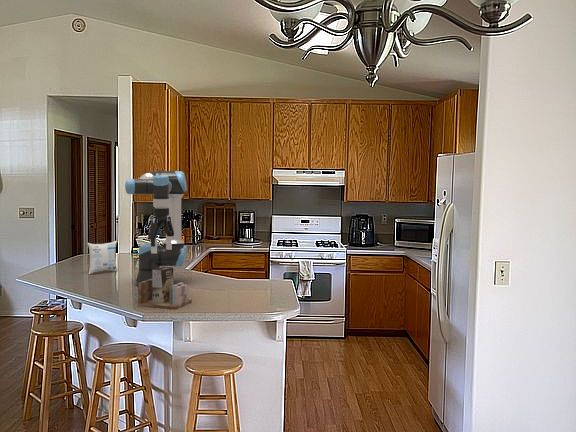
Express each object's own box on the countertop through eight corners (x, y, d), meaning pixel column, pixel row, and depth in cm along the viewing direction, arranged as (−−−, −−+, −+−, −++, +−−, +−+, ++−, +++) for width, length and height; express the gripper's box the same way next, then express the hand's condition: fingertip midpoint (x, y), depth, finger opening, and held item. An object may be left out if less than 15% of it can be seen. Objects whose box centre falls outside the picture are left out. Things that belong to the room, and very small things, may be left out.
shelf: (156, 298, 278) (156, 277, 277) (191, 302, 272) (191, 279, 271) (138, 306, 263) (138, 282, 262) (175, 309, 257) (175, 285, 256)
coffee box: (163, 303, 263) (162, 270, 262) (152, 302, 266) (151, 269, 264) (173, 299, 272) (173, 267, 271) (162, 298, 274) (162, 266, 273)
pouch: (120, 272, 351) (119, 241, 349) (89, 275, 339) (89, 243, 337) (115, 270, 357) (115, 240, 355) (85, 273, 345) (85, 242, 344)
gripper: (167, 205, 277) (168, 247, 279) (139, 209, 254) (140, 254, 255) (180, 206, 275) (181, 248, 277) (153, 209, 251) (154, 255, 253)
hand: (161, 251), depth 266 cm, fingers open, 13 cm apart
